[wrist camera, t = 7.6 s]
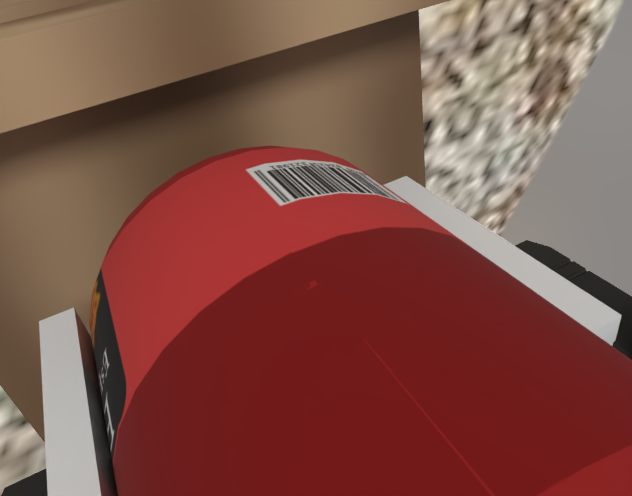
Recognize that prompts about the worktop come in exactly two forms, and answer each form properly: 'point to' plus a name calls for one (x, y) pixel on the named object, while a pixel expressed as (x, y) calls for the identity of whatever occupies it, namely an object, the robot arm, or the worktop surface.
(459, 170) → the worktop surface
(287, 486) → the canned food
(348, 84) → the brown square tray
